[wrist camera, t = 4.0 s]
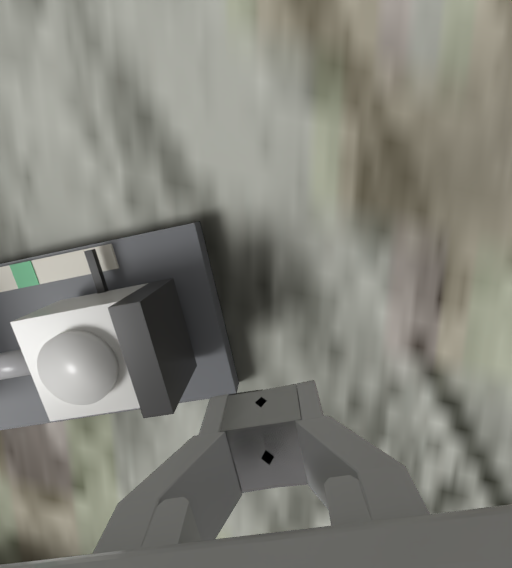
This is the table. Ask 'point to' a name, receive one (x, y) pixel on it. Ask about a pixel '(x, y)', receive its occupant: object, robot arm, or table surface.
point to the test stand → (118, 274)
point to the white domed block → (106, 350)
